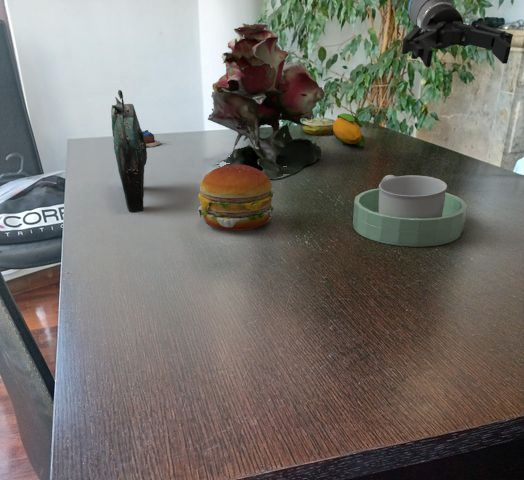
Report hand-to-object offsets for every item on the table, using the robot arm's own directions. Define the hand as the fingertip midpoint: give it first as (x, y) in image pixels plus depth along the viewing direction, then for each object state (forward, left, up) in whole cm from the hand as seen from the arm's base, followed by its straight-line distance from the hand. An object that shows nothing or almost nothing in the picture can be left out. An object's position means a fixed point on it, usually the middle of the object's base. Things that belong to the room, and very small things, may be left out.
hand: (468, 57), depth 101 cm
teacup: (+8, +20, -25) cm, 33 cm away
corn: (+23, -47, -25) cm, 58 cm away
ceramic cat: (+62, +10, -25) cm, 68 cm away
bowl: (+8, +19, -25) cm, 32 cm away
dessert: (+79, -38, -25) cm, 91 cm away
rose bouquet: (+43, -23, -25) cm, 55 cm away
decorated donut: (+33, -62, -25) cm, 75 cm away
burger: (+38, +22, -25) cm, 50 cm away
